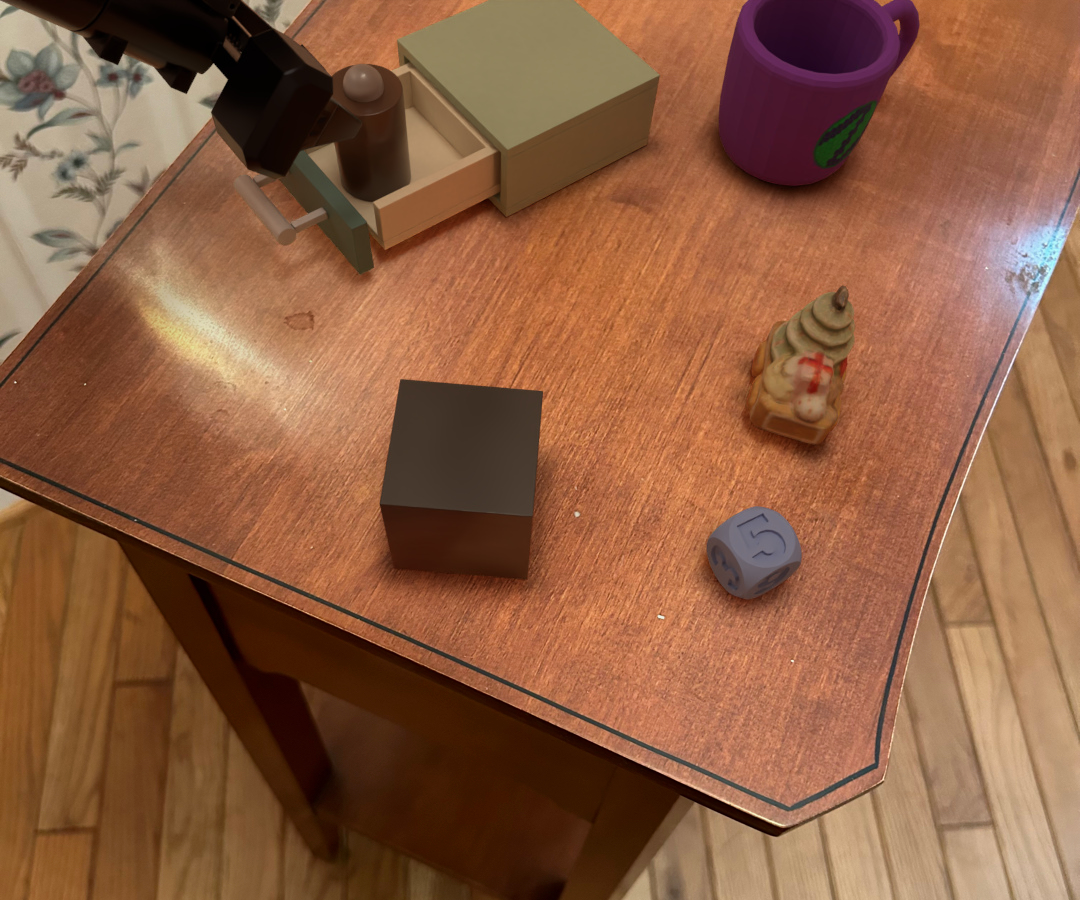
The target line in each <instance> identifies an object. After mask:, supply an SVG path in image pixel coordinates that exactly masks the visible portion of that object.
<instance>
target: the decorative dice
mask: <svg viewBox="0 0 1080 900" xmlns="http://www.w3.org/2000/svg"><path fill="white" fill-rule="evenodd" d="M705 548H706V549H705V550H706V556H707V560H708V563H709V566H710V568H711V571H712V573H713V574H714V576H715V578H716V580H717V581H718V582H719V584H720V585H721V586H722V587H723V588H724V590H725V591H726V592H728V594H730V595H732V596H734V597H736V598H739V599H744V600H752V599H755V598H758V597H760V596H762V595H765V594H766V593H768V592H770V591H771V590H773V589H776V587H778V586H779V585H781V584H783V583H784V582H785V581H787V580H788V579H789V578H790V577H791V576H793V574H795V573H796V571H798V569H800V566H801V565H802V559H803V551H802V546H801V543H800V539H799V537H798V535H797V533H796V531H795V530H794V528H793V526H792V525H791V523H790V522H789V521H788V520H787V519H786V517H785V516H783V514H781V513H780V512H778V511H776V510H774V509H773V508H768V507H765V506H760V505H756V506H755V505H754V506H751V507H748V508H745V509H743V510H741V511H739V512H737V513H736V514H734V515H732V516H730V517H729V518H727V519H726V520H725V521H724V522H722V523H721V524H719V526H718V527H716V528H715V529H714V530H713V531H712V532H711V534H710V535H709V537H708V538H707V541H706V547H705Z"/></svg>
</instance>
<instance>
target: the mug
mask: <svg viewBox="0 0 1080 900" xmlns="http://www.w3.org/2000/svg"><path fill="white" fill-rule="evenodd" d="M897 21H899V31H898V27H897V25H896V23H895V22H897ZM920 25H921V23H920V16H919V11H918V9H917V7H916V5H915V4H914V2H913V0H890V1H889V2H887V3H885V4H884V5H881V4H880V3H879V2H878V1H876V0H746V1H745V3H743V5H742V6H741V8H740V11H739V14H738V16H737V19H736V23H735V27H734V31H733V35H732V39H731V43H730V46H729V50H728V55H727V59H726V63H725V64H726V65H725V70H724V75H723V81H722V85H721V91H720V97H719V104H718V136H719V139H720V142H721V144H722V147H723V149H724V152H725V154H726V155H727V156H728V157H729V159H730V160H731V161H732V162H733V164H735V165H736V166H737V167H739V168H740V169H741V170H742V171H744V172H745V173H747V174H748V175H750V176H752V177H755V178H756V179H759V180H761V181H764V182H766V183H771V184H775V185H779V186H780V185H781V186H790V187H791V186H792V187H793V186H794V187H795V186H803V185H811V184H814V183H817V182H820V181H822V180H825V179H827V178H829V177H830V176H831V175H832V174H834V173H835V172H837V171H838V170H839V169H840V168H841V167H843V165H844V164H845V162H846V161H847V159H848V158H849V157H850V156H851V154H852V153H853V152H854V150H855V148H856V147H857V145H858V144H859V142H860V141H861V139H862V137H863V135H864V134H865V132H866V131H867V128H868V126H869V123H870V122H871V121H872V120H871V119H872V118H873V116H874V113H875V111H876V109H877V107H878V105H879V103H880V101H881V100H882V97H883V95H884V93H885V91H886V88H887V85H888V83H889V81H890V79H891V78H892V76H893V75H894V74H895V73H896V71H898V69H899V68H900V66H901V65H902V64H903V62H904V61H905V59H906V57H907V56H908V54H909V52H910V51H911V49H912V47H913V46H914V44H915V42H916V41H917V38H918V34H919V29H920Z"/></svg>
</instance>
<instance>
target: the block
mask: <svg viewBox="0 0 1080 900" xmlns="http://www.w3.org/2000/svg"><path fill="white" fill-rule="evenodd" d="M543 400H544V390H536V389H526V388H525V389H524V388H513V387H499V386H490V385H477V384H466V383H453V382H443V381H440V382H439V381H430V380H416V379H406V378H405V379H404V378H400V379H399V384H398V390H397V396H396V401H395V408H394V414H393V419H392V426H391V431H390V432H391V433H390V436H389V444H388V450H387V457H386V462H385V468H384V474H383V481H382V485H381V486H382V487H381V493H380V499H379V503H378V504H379V509H380V513H381V518H382V522H383V526H384V531H385V535H386V541H387V545H388V549H389V553H390V558H391V562H392V567H393V569H394V570H403V571H415V572H416V571H418V572H430V573H440V574H441V573H442V574H453V575H455V574H456V575H465V576H467V575H468V576H477V577H490V578H503V579H513V580H514V579H516V580H528V579H529V569H530V558H531V547H532V546H531V545H532V533H533V521H534V511H535V499H536V498H535V496H536V485H537V473H538V460H539V448H540V436H541V423H542V412H543Z"/></svg>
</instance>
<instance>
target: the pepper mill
mask: <svg viewBox="0 0 1080 900" xmlns="http://www.w3.org/2000/svg"><path fill="white" fill-rule="evenodd" d="M331 76H332V77H333V95H332V97H333V98H334V99H335V100H337V101H338V102H339V103H340V104H342V105H343V106H344V107H345V108H347V109H348V110H349V111H350V112H351V113H353V114H354V115H355V116H356V117H357V118H359V119H360V121H361V122H362V126H361V128H360V129H359V131H358V133H357V134H356V136H355V137H354V138H351V139H347V140H343V141H338V142H334V145H335V150H336V156H337V161H338V167H339V172H340V178H341V182H342V185H343V187H344V188H345V190H346V191H347V192H348V193H349V194H351V195H352V196H354V197H355V198H358V199H360V200H364V201H369V202H374V201H376V200H378V199H380V198H382V197H384V196H386V195H388V194H391V193H393V192H395V191H397V190H399V189H401V188H403V187H405V186H407V185H409V183H410V180H411V168H410V158H409V147H408V137H407V127H406V116H405V106H404V95H403V87H402V83H401V81H400V79H399V78H398V77H397V76H396V74H394V73H393V72H392V70H390V69H389V68H387V67H384V66H381V65H378V64H373V63H356V64H351V65H348V66H345V67H342V68H341V69H339V70H337V71H336V72H334V73H333V74H331Z"/></svg>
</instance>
